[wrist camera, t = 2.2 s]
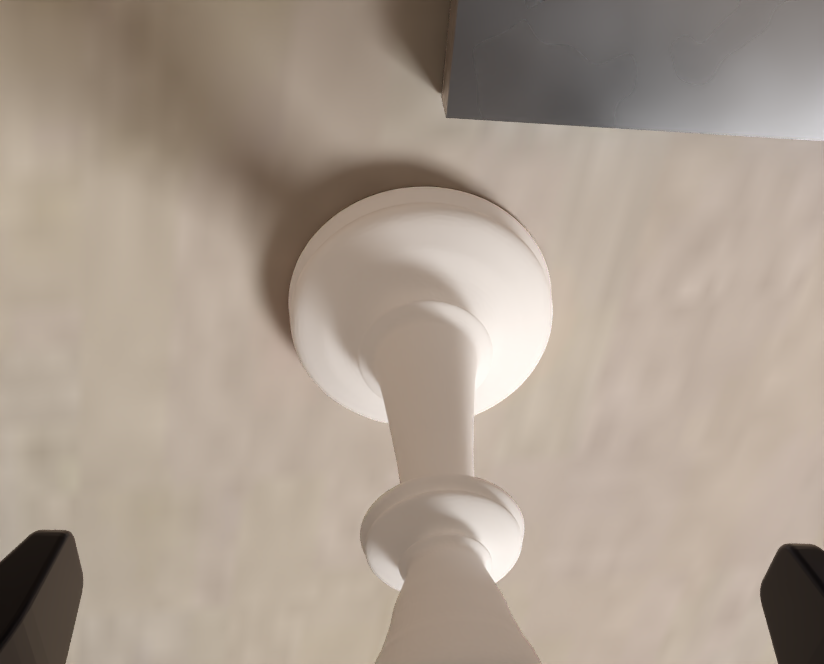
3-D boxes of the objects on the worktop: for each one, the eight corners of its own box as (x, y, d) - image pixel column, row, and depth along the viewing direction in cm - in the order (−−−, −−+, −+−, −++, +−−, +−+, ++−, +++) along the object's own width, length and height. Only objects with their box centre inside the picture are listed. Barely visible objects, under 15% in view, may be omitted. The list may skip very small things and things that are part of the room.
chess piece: (295, 169, 13) (168, 795, 5) (579, 201, 14) (896, 812, 5) (283, 397, 16) (186, 1047, 8) (519, 416, 16) (669, 1041, 8)
